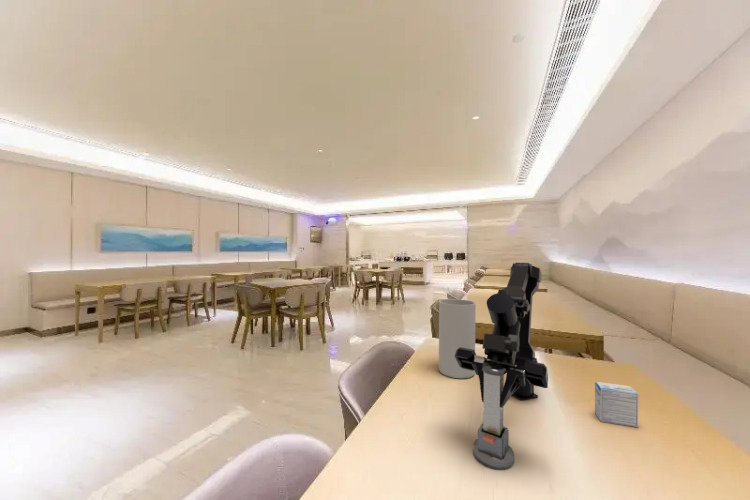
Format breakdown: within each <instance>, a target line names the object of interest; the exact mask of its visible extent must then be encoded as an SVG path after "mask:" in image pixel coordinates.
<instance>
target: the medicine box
mask: <svg viewBox="0 0 750 500" xmlns="http://www.w3.org/2000/svg"><path fill="white" fill-rule="evenodd" d="M594 413H595V416H597V418H598V419H599V421H600V422H602V423H608V424H615V425H621V426H628V427H635V428H639V393H638V392H637V391H636V390H635V389H633V387H631V386H630V385H626V384H625V385H623V384H618V383H617V384H616V383H608V382H601V381H599V382H598V381H595V382H594Z"/></svg>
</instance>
